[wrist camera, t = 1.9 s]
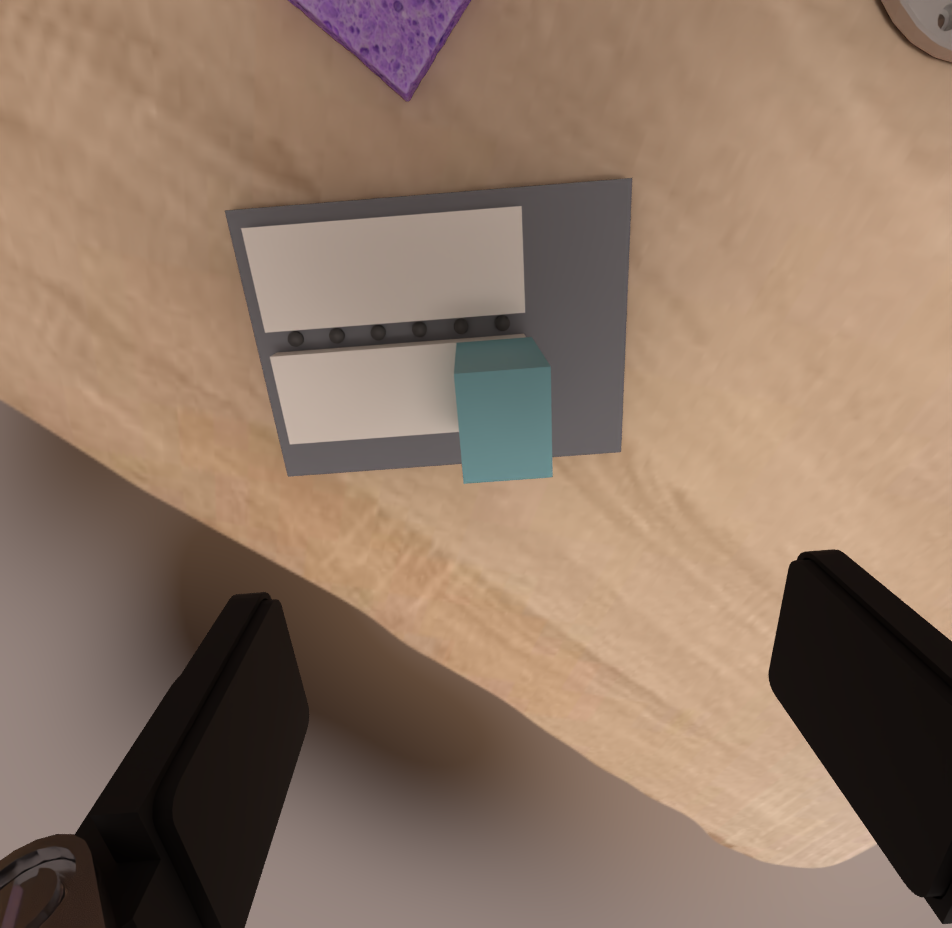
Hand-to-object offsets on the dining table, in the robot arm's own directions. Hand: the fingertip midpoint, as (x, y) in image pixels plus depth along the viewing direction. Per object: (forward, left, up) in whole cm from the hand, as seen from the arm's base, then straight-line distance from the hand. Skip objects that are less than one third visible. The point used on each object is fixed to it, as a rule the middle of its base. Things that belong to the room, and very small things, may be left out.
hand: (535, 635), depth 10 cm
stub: (+4, 0, -18) cm, 19 cm away
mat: (+2, -2, -19) cm, 20 cm away
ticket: (+4, -5, -18) cm, 20 cm away
